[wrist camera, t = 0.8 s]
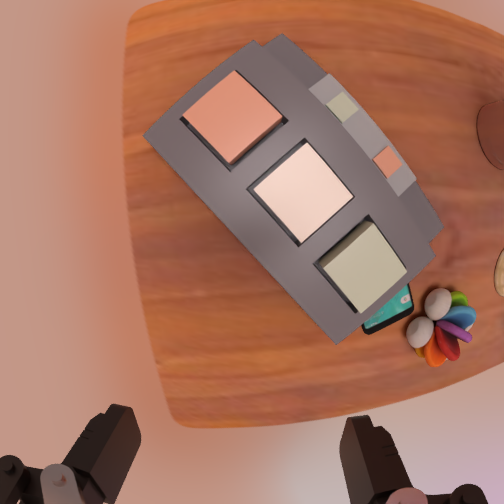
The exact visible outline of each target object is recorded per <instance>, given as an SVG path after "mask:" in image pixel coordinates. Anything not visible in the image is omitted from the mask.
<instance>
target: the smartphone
mask: <svg viewBox="0 0 504 504" xmlns="http://www.w3.org/2000/svg"><path fill="white" fill-rule="evenodd" d="M413 310H414V304H413V299H412V295H411V291H410V287H409V283H408V284H407V285H406V286H405V287H404V288H403V289H402V290H400V291H399V292H398V293H397V294H396V295H395V296H394V297H393V298H392V299H391V300H390V301H388V302H387V303H386V304H385V305H384V306H383V307H382V308H381V309H379V310H378V311H377V312H376V313H375V314H374V315H372V316H371V317H370V318H369V319H368V320H367V321H365V322H364V323H363V324H362V329H363V331H364V333H365V334H368V335H370V334H372V333H374V332H376V331H379V330H381V329H383V328H385V327H387V326H389V325H391V324H393V323H395V322H396V321H398V320H400V319H402V318H404V317H406V316H408V315H410V314H411V313H412V312H413Z"/></svg>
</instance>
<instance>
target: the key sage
mask: <svg viewBox="0 0 504 504" xmlns="http://www.w3.org/2000/svg"><path fill="white" fill-rule="evenodd" d="M318 262H319V264H320V265H321V266H322V267H323V269H324V270H325V271H326V272H327V273H328V275H329V276H330V277H331V278H332V279H333V281H334V282H335V283H336V284H337V285H338V287H339V288H340V289H341V290H342V291H343V293H344V294H345V295H346V296H347V297H348V299H349V300H350V301H351V302H352V304H353V305H354V306H355V307H356V308H357V310H358V311H359V312H360V313H362V312H363V311H364V310H366V309H367V308H368V307H369V306H370V305H371V304H373V303H374V302H375V301H376V300H377V299H378V298H379V297H381V296H382V295H383V294H384V293H385V292H386V291H387V290H388V289H389V288H391V287H392V286H393V285H394V284H395V283H396V282H397V281H398V280H399V279H400V278H401V277H402V276H403V275H404V274H406V273H407V271H406V269H405V267H404V266H403V264H402V263H401V261H400V260H399V259H398V257H397V256H396V254H395V253H394V251H393V250H392V248H391V247H390V245H389V244H388V243H387V241H386V240H385V238H384V237H383V236H382V234H381V233H380V231H379V230H378V229H377V227H376V226H375V225H374V223H371V222H368V221H365V220H364V221H363V222H362V223H361V224H359V225H358V226H357V227H356V228H355V229H354V230H353V231H352V232H351V233H349V234H348V235H347V236H346V237H345V238H344V239H343V240H342V241H341V242H339V243H338V244H337V245H336V246H335V247H334V248H333V249H332V250H330V251H329V252H328V253H327V254H326V255H325V256H324V257H322V258H321V259H320V260H319V261H318Z"/></svg>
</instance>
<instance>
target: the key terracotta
mask: <svg viewBox="0 0 504 504" xmlns="http://www.w3.org/2000/svg"><path fill="white" fill-rule="evenodd" d="M183 116H184V117H185V118H186V119H187V120H188V121H189V122H190V123H191V124H192V125H193V126H194V127H195V128H196V129H197V131H198V132H199V133H200V134H201V135H202V136H203V137H204V138H205V139H206V140H207V141H208V142H209V143H210V144H211V145H212V146H213V147H214V148H215V149H216V150H217V151H218V152H219V153H220V154H221V155H222V156H223V157H224V159H225V160H226V161H227V162H228V163H229V164H231V165H233V164H234V163H235V162H236V161H237V160H238V159H239V158H240V157H242V156H243V155H244V154H245V153H246V152H247V151H248V150H249V149H251V148H252V147H253V146H254V145H255V144H256V143H257V142H259V141H260V140H261V139H262V138H263V137H264V136H266V135H267V134H268V133H269V132H270V131H271V130H273V129H274V128H275V127H276V126H277V125H279V124H280V123H281V120H282V115H281V114H280V113H279V112H278V111H277V110H276V109H275V108H274V107H273V106H272V105H271V104H270V103H269V102H268V101H267V100H266V99H265V98H264V97H263V96H262V95H260V94H259V93H258V92H257V91H256V90H255V89H254V88H253V87H252V86H251V85H250V84H249V83H248V82H247V81H246V80H245V79H243V78H242V77H241V76H240V75H239V74H238V73H237V72H236V71H235V70H234V71H233V72H232V73H230V74H229V75H228V76H227V77H225V78H224V79H223V80H222V81H220V82H219V83H218V84H217V85H216V86H214V87H213V88H212V89H211V90H210V91H209V92H207V93H206V94H205V95H204V96H203V97H202V98H200V99H199V100H198V101H197V102H196V103H195V104H194V105H193V106H192V107H190V108H189V109H188V110H187V111H186V112H185V113H184V114H183Z"/></svg>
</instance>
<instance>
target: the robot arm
mask: <svg viewBox="0 0 504 504" xmlns="http://www.w3.org/2000/svg"><path fill="white" fill-rule="evenodd" d="M477 129H478V136H479V140H480V143H481V146H482V149H483V151H484V153H485V155H486V157H487V158H488V160H489V161H490V162H491V163H492V164H493V165H494V166H495V167H497V168H499V169H503V170H504V100H501V101H498V102H494V103H491V104H487V105H485V106H483V108H482V109H481V110H480V112H479V115H478V120H477ZM140 443H141V433H140V430H139V427H138V424H137V421H136V418H135V415H134V412H133V409H132V408H131V407H127V406H122V405H117V404H111V405H110V407H109V408H108V410H107V411H106V413H105V414H102V413H100V414H98V415H97V416H95V417H94V418H92V419H91V420H90V421H89V423H88V424H87V426H86V427H85V430H83V432H82V433H81V435H80V437H79V438H78V439H77V441H76V442H75V444H74V445H73V447H72V448H71V450H70V451H69V453H68V455H67V456H66V457H65V459H64V461H63V462H62V463H61V464H52V465H49V466H47V467H46V468H45V469H37V468H32V467H27V466H25V465H24V464H23V463H22V461H21V460H20V459H19V458H17V457H15V456H13V455H6V456H3V457H1V458H0V504H17V502H18V500H20V503H19V504H103V502H105V503H108V504H114V503H115V501H116V499H117V496H118V494H119V492H120V489H121V487H122V485H123V482H124V480H125V478H126V476H127V473H128V471H129V469H130V467H131V464H132V462H133V460H134V458H135V456H136V453H137V451H138V449H139V447H140ZM340 458H341V462H342V467H343V471H344V476H345V480H346V484H347V489H348V493H349V498H350V503H351V504H488V502H487V500H486V497H485V495H484V493H483V491H482V490H481V488H479V487H478V486H476V485H473V484H464V485H461V486H459V487H458V488H456V489H455V490H454V491H453V492H452V494H440V495H426V494H424V493H423V492H422V491H420V490H418V489H416V488H414V487H413V486H412V484H411V482H410V479H409V477H408V475H407V472H406V470H405V467H404V465H403V462H402V460H401V458H400V456H399V455H398V451H397V449H396V447H395V444H394V441H393V439H392V437H391V434H390V433H389V432H387V431H386V430H385V429H384V428H383V427H382V426H378V427H374V426H373V424H372V421H371V419H370V417H369V416H368V415H363V416H355V417H348V418H347V421H346V424H345V428H344V431H343V435H342V438H341V441H340Z"/></svg>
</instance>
